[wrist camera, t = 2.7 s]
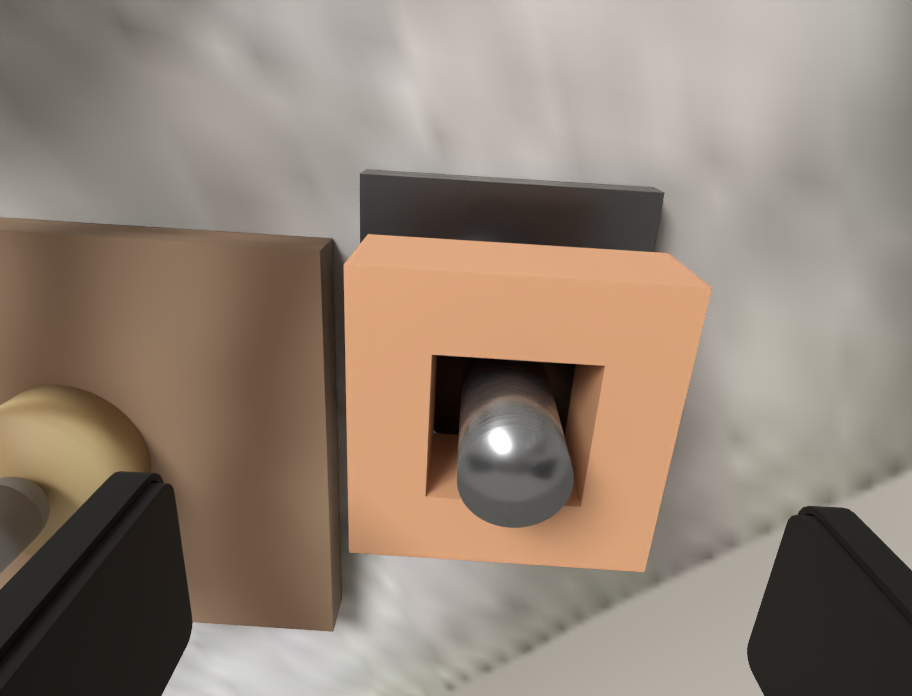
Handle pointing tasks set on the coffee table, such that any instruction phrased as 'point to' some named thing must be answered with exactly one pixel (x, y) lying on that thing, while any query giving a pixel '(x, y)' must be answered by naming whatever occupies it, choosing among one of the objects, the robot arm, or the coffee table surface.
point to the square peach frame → (515, 338)
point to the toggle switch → (178, 402)
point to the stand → (500, 380)
